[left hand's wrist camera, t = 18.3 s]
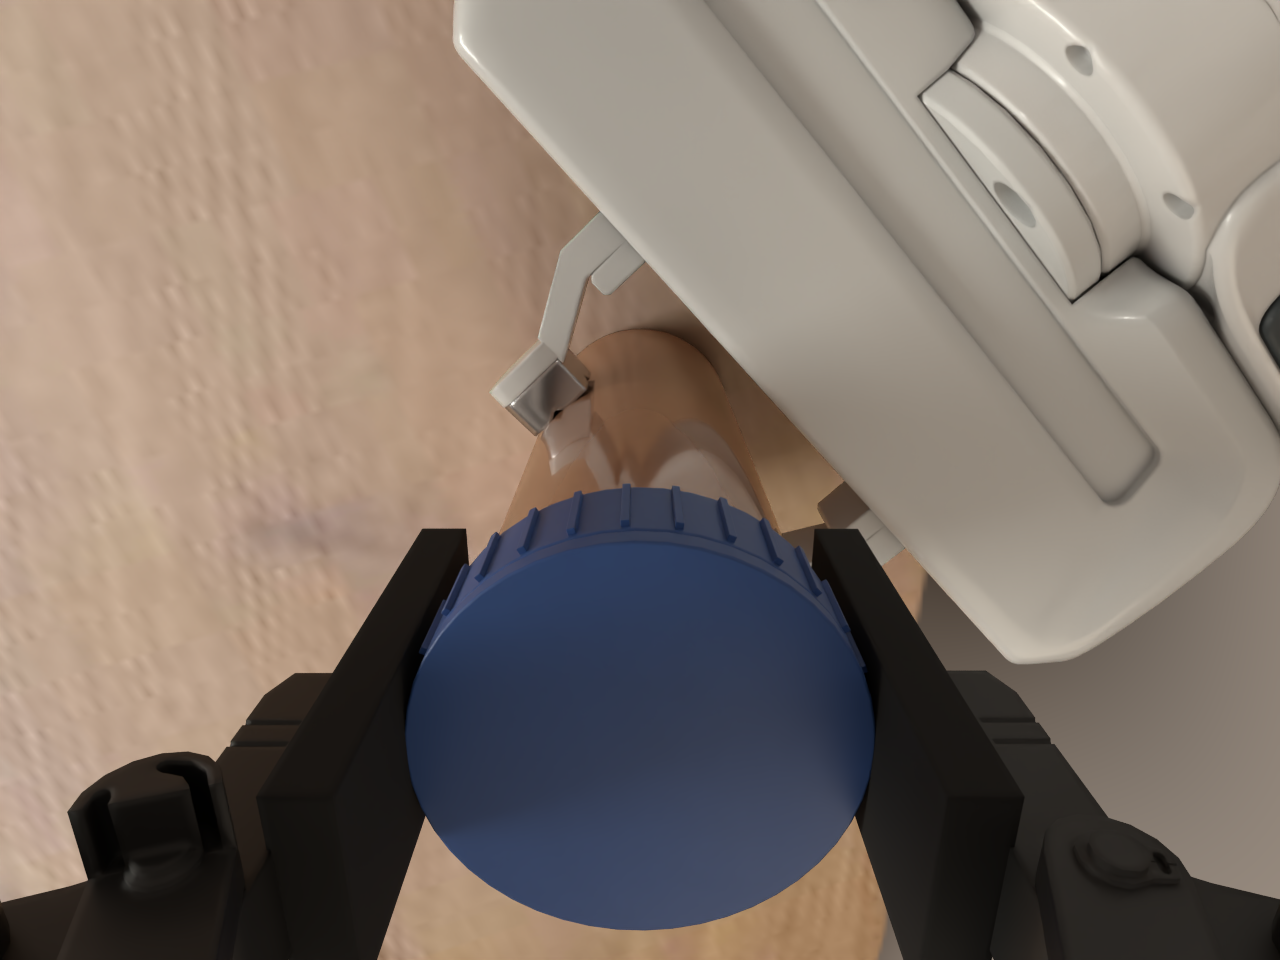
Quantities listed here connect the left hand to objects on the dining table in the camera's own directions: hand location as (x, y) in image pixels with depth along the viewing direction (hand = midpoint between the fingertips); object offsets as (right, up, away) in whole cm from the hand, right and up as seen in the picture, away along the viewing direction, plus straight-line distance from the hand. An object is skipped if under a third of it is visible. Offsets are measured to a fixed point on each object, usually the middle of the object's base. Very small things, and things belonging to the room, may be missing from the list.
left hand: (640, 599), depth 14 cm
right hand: (-1, +1, +6) cm, 6 cm away
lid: (0, -1, -4) cm, 4 cm away
